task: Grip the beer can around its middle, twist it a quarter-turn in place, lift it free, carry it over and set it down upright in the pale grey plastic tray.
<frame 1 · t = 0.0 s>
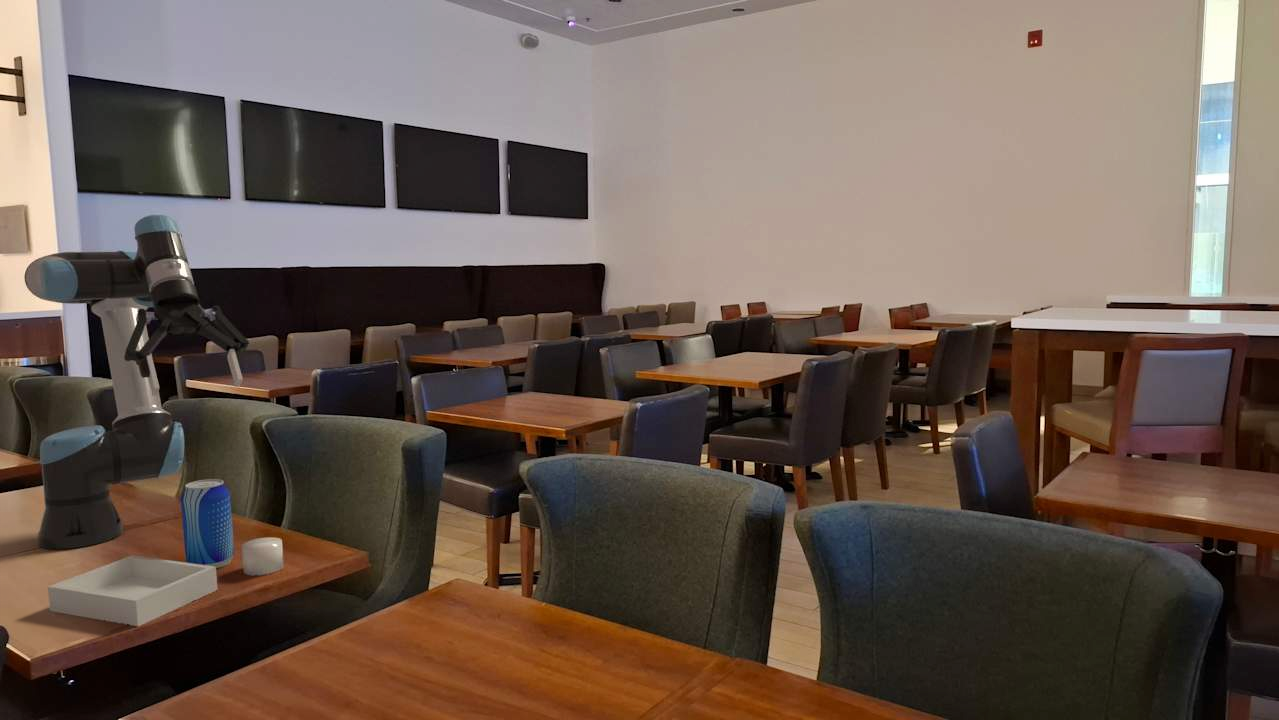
hand: (198, 387, 154), 36 cm above the table, tool tilted 35°, fingers open, 13 cm apart
tray: (136, 600, 150), on the table
beer can: (211, 565, 167), on the table
white pillar candle: (263, 568, 164), on the table
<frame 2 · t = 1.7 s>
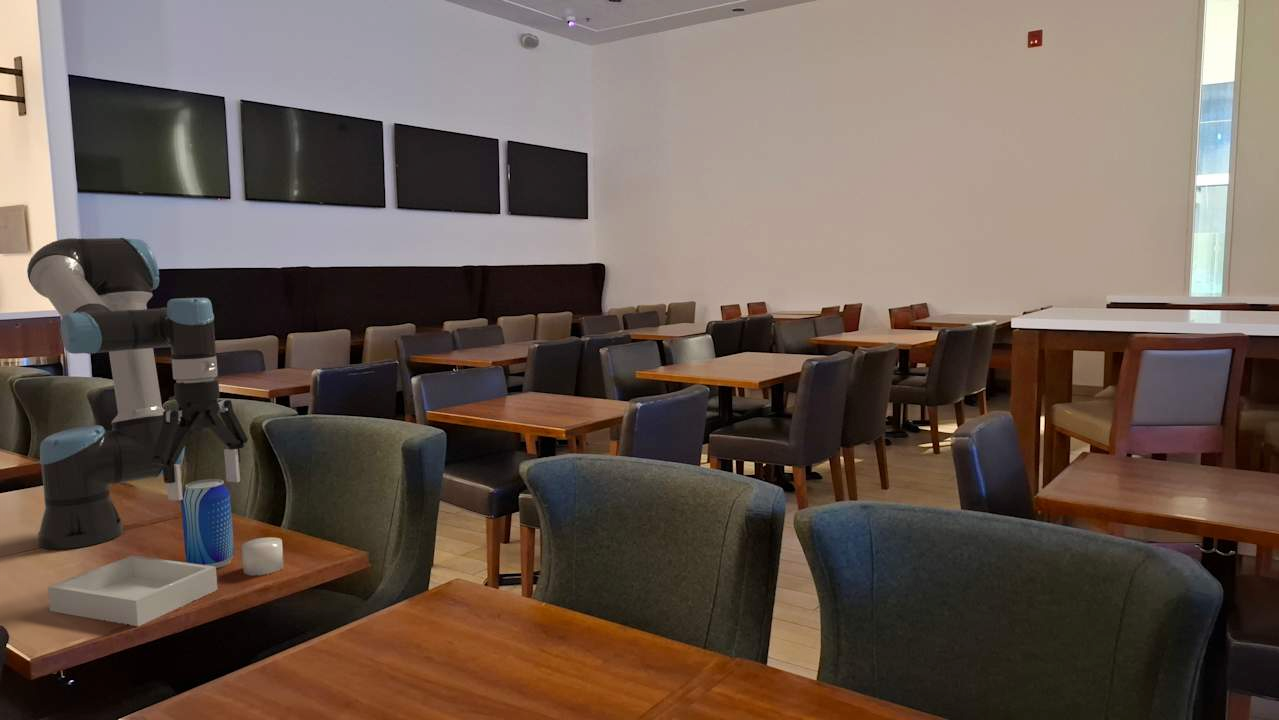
hand: (205, 490, 165), 15 cm above the table, tool pointing down, fingers open, 13 cm apart
nothing on the table moved.
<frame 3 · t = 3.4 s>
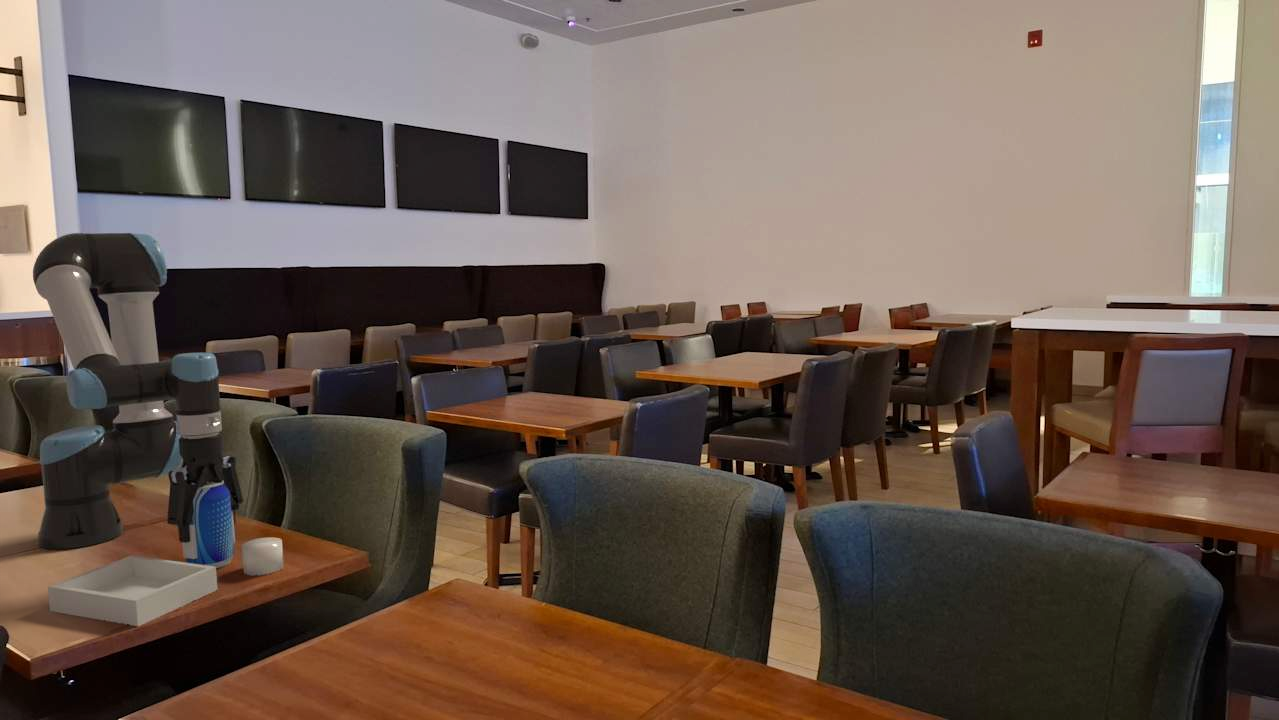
hand: (209, 549, 167), 3 cm above the table, tool pointing down, fingers closed on beer can, 8 cm apart
beer can: (211, 565, 167), on the table, touching gripper
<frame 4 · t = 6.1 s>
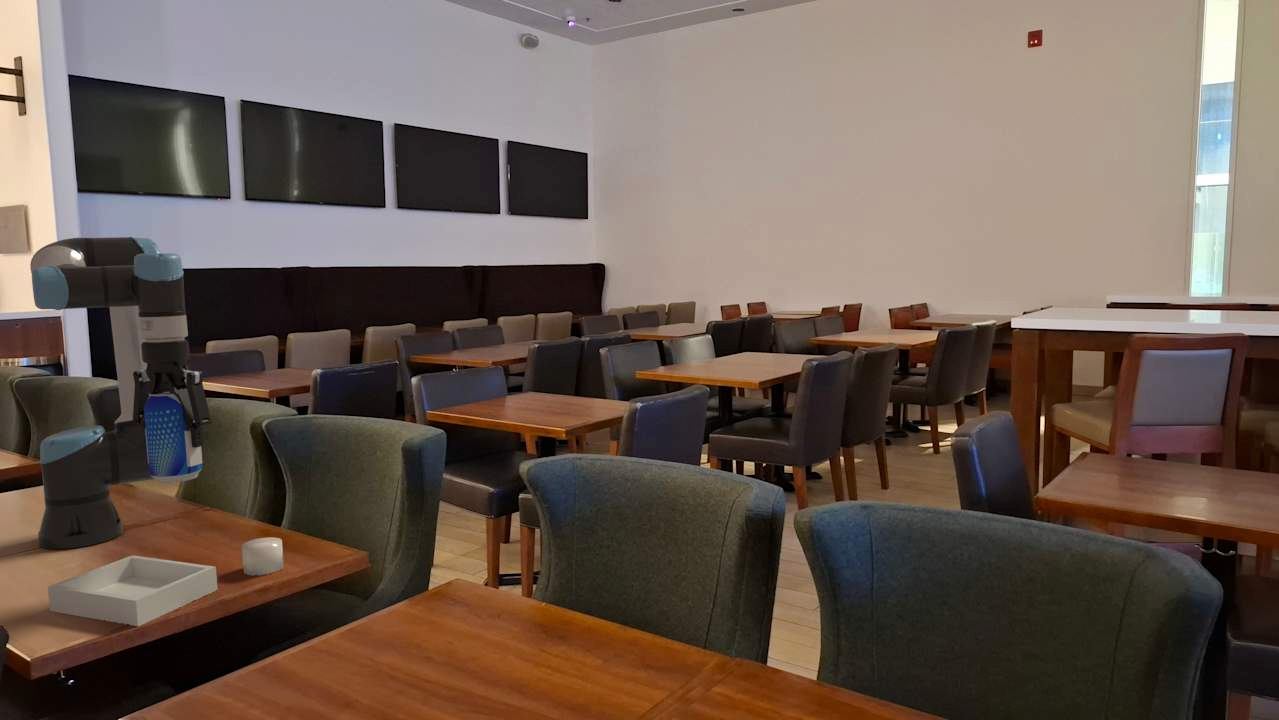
hand: (175, 463, 158), 22 cm above the table, tool pointing down, fingers closed on beer can, 8 cm apart
beer can: (176, 479, 158), point 19 cm above the table, touching gripper
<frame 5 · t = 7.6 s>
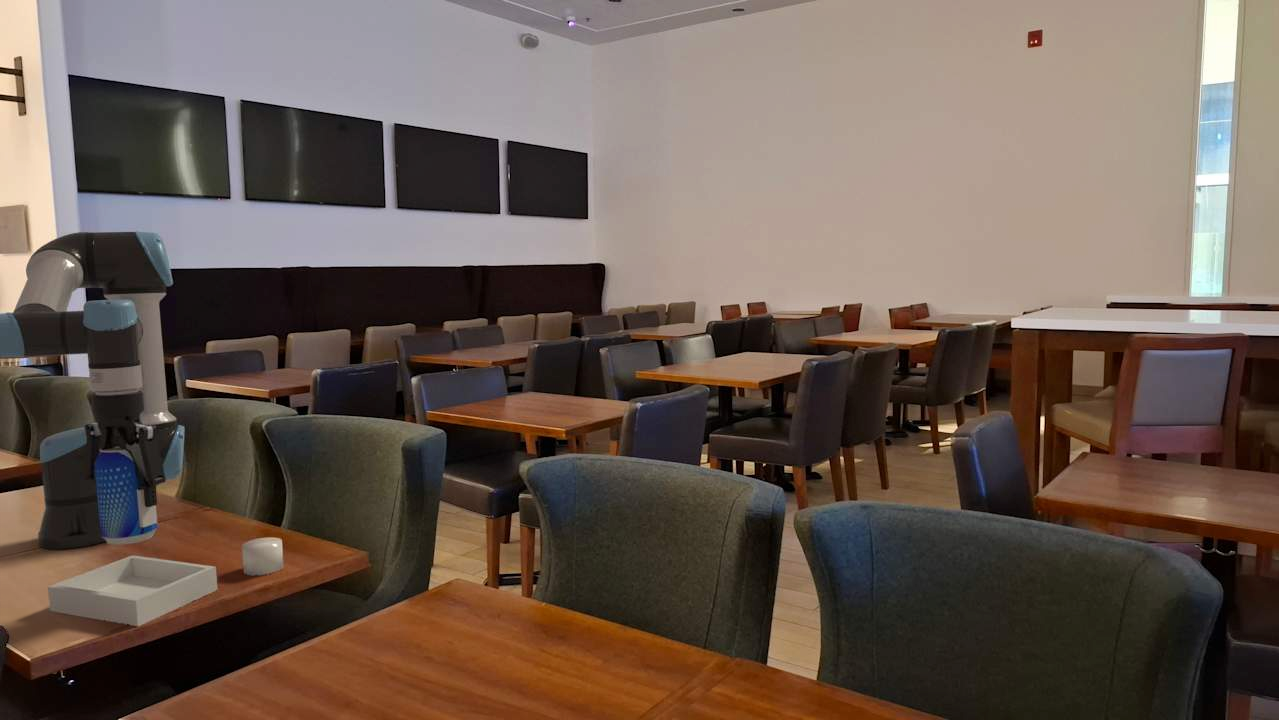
hand: (128, 522, 148), 14 cm above the table, tool pointing down, fingers closed on beer can, 8 cm apart
beer can: (130, 539, 148), point 11 cm above the table, touching gripper
when the fingers open (6 cm above the table, at t = 8.9 s): beer can drops 2 cm, resting on tray.
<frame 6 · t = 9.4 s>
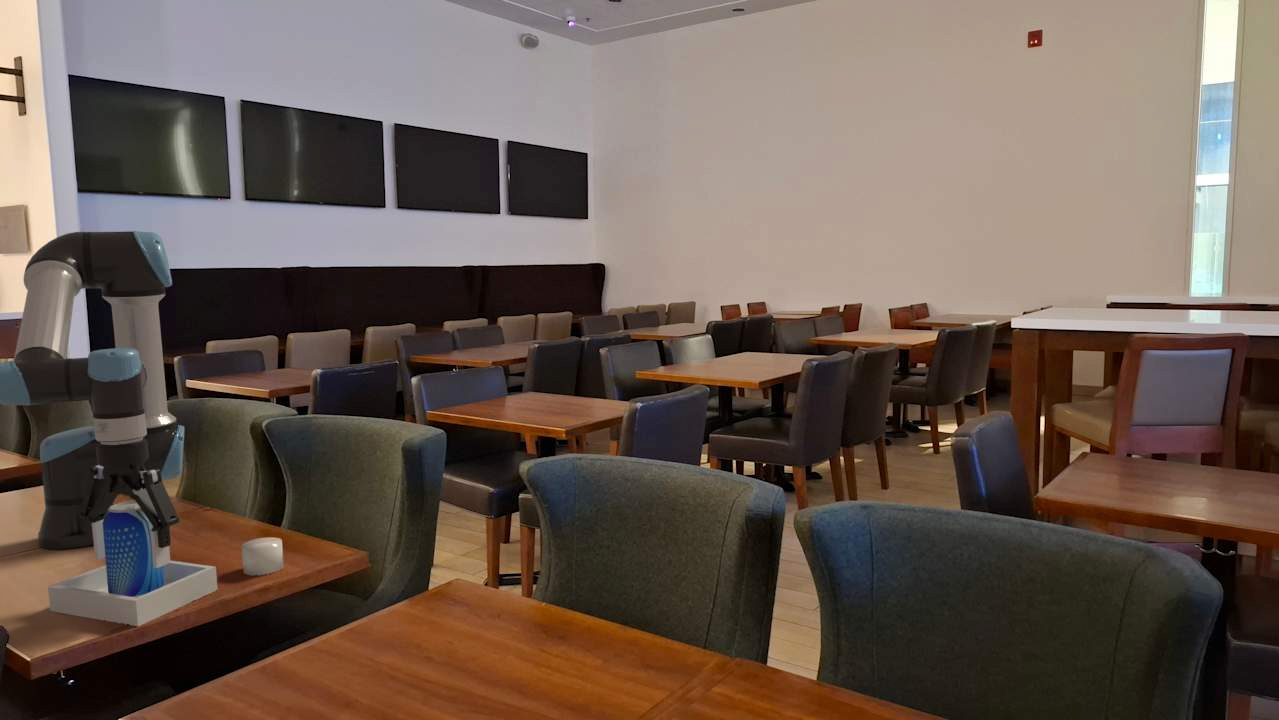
hand: (132, 561, 149), 7 cm above the table, tool pointing down, fingers open, 13 cm apart
beer can: (137, 596, 150), point 1 cm above the table, touching tray
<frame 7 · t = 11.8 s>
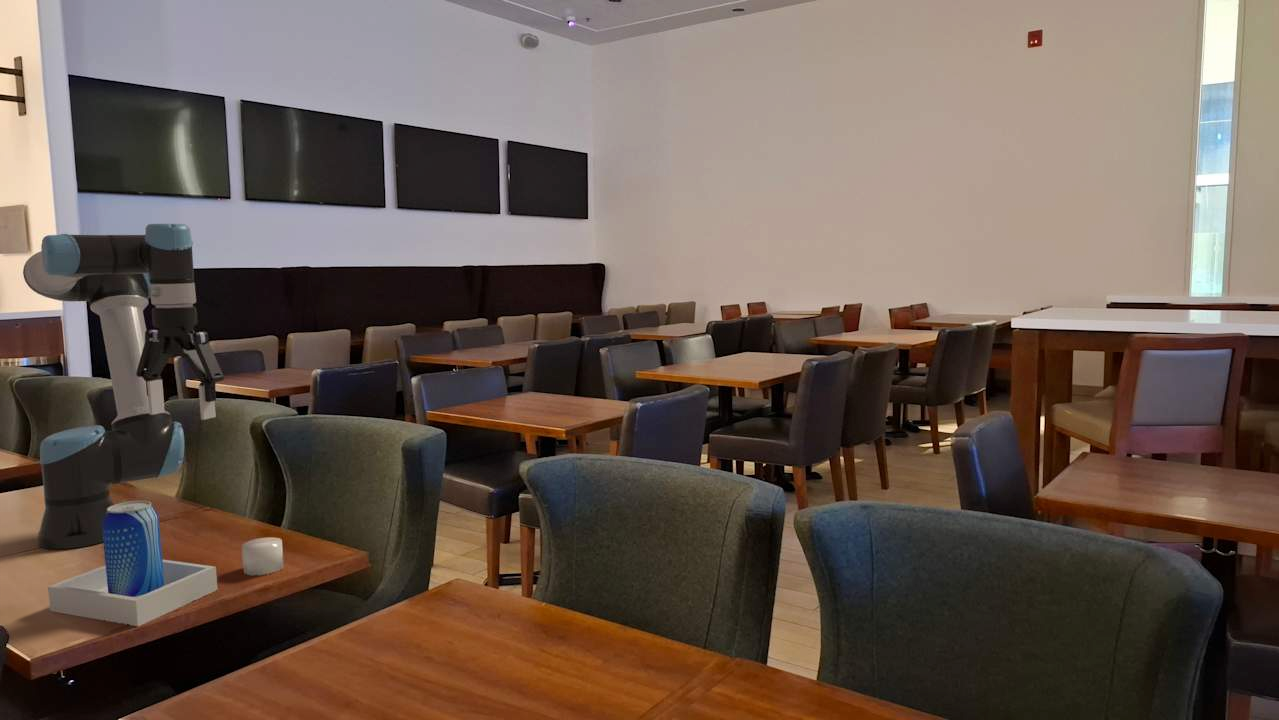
hand: (182, 416, 167), 29 cm above the table, tool pointing down, fingers open, 13 cm apart
nothing on the table moved.
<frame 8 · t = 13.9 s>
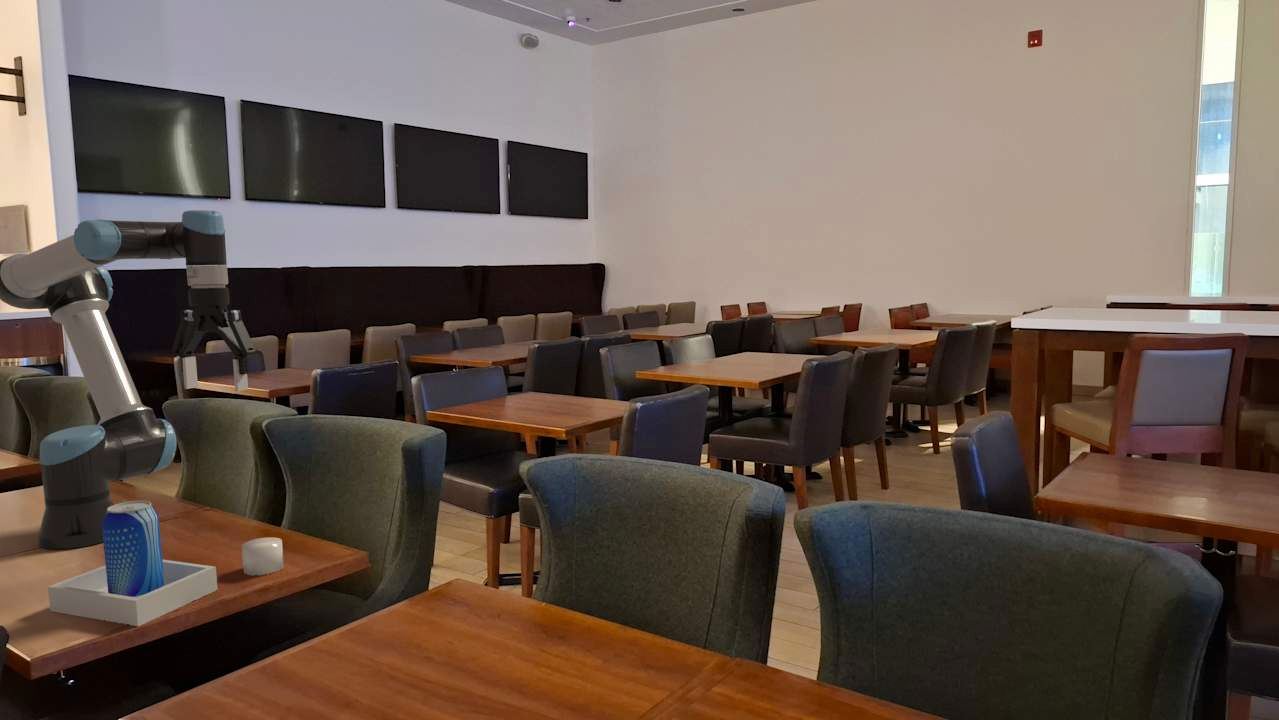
hand: (216, 389, 180), 32 cm above the table, tool pointing down, fingers open, 13 cm apart
nothing on the table moved.
at the end: beer can inside the target area on the tray (0.3 cm from its centre), point 0.6 cm above the tray's base; beer can tilted 0°; the gripper is holding nothing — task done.
